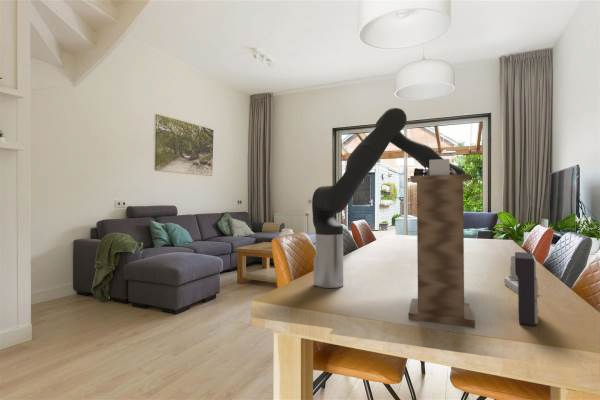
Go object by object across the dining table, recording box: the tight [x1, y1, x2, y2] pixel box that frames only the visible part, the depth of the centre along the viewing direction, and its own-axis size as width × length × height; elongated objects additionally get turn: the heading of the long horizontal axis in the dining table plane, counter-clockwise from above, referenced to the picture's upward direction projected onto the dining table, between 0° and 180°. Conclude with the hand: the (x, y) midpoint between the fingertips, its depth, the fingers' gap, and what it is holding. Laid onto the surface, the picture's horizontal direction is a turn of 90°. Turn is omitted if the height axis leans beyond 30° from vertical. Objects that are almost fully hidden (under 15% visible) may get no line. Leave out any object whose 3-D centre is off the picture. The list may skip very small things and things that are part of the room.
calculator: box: [514, 251, 539, 327], centre depth 81 cm, size 11×4×15 cm, turn 148°
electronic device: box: [503, 255, 518, 294], centre depth 108 cm, size 5×10×15 cm
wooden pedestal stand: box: [408, 173, 476, 328], centre depth 84 cm, size 14×14×34 cm
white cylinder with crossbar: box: [429, 158, 450, 175], centre depth 90 cm, size 21×4×4 cm, turn 159°
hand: (433, 173), depth 103 cm, fingers open, 8 cm apart
